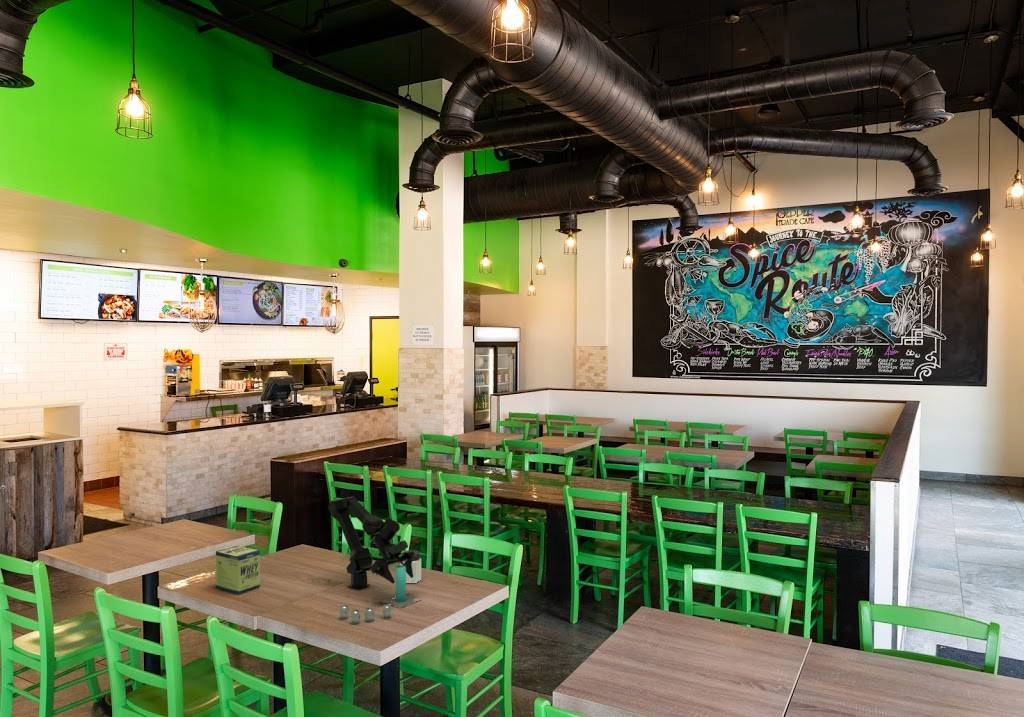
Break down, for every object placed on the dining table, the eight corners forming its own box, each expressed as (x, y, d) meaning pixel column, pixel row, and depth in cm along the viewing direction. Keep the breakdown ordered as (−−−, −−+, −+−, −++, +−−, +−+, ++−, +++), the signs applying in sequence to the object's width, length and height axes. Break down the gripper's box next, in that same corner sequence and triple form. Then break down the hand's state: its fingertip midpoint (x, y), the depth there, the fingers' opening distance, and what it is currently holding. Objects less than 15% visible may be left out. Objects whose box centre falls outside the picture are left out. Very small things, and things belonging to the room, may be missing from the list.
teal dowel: (394, 602, 272) (394, 568, 271) (397, 598, 276) (396, 565, 275) (404, 602, 271) (404, 568, 271) (407, 598, 275) (406, 565, 275)
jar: (424, 581, 298) (424, 553, 298) (408, 585, 293) (407, 556, 293) (413, 576, 305) (413, 548, 305) (397, 580, 299) (396, 552, 299)
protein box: (239, 595, 282) (239, 556, 282) (214, 588, 290) (214, 550, 290) (260, 587, 291) (260, 550, 291) (236, 581, 299) (236, 545, 299)
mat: (380, 602, 272) (380, 601, 272) (401, 594, 281) (401, 593, 281) (400, 608, 266) (400, 607, 266) (421, 600, 275) (421, 599, 275)
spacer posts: (336, 618, 256) (336, 607, 256) (365, 607, 267) (365, 597, 267) (364, 628, 247) (364, 616, 247) (393, 616, 258) (393, 605, 258)
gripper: (375, 539, 269) (393, 574, 262) (412, 530, 283) (431, 562, 276) (362, 556, 274) (380, 590, 267) (399, 546, 288) (417, 578, 281)
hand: (403, 580), depth 273 cm, fingers open, 9 cm apart
